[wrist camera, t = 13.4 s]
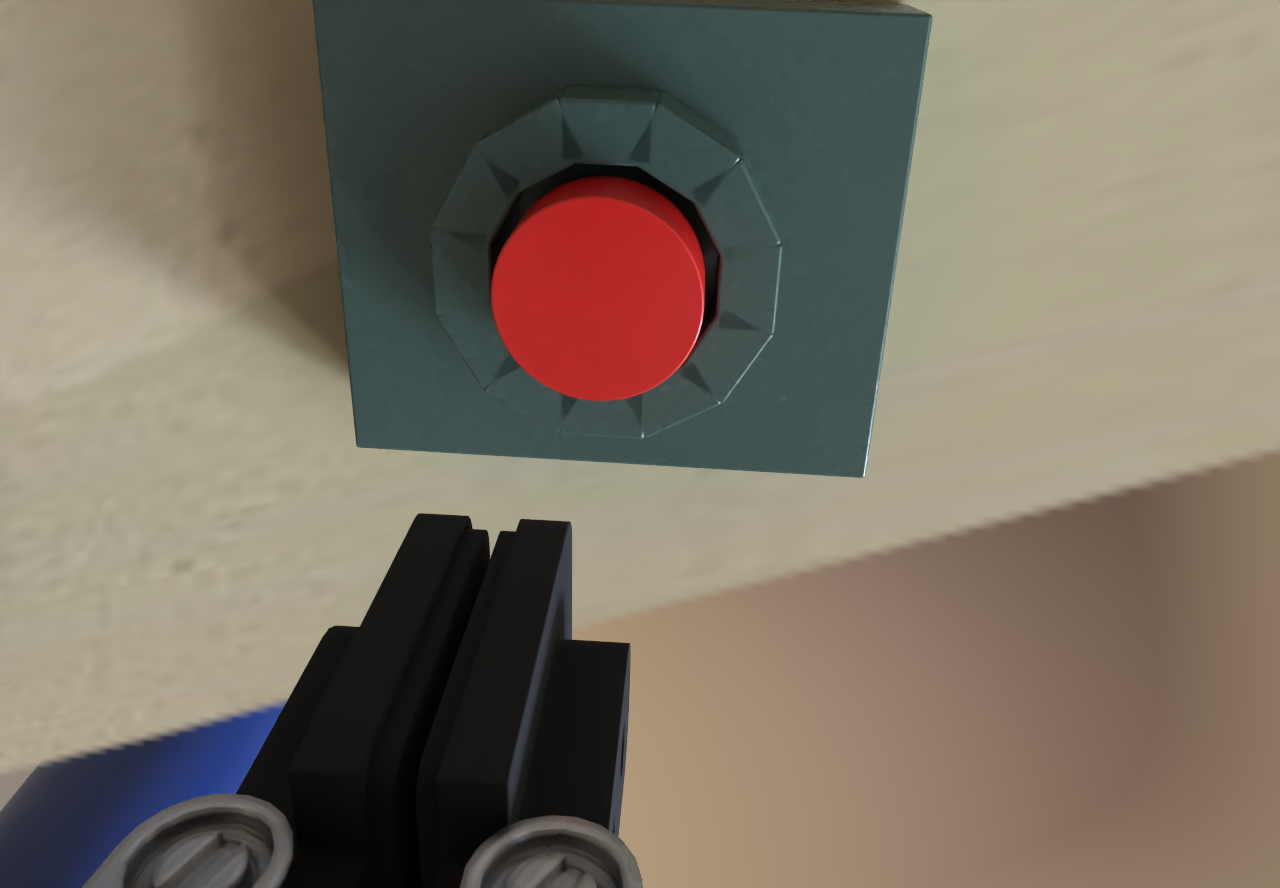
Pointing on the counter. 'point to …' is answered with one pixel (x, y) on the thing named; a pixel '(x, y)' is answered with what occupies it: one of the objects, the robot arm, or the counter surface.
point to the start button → (600, 289)
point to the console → (649, 154)
